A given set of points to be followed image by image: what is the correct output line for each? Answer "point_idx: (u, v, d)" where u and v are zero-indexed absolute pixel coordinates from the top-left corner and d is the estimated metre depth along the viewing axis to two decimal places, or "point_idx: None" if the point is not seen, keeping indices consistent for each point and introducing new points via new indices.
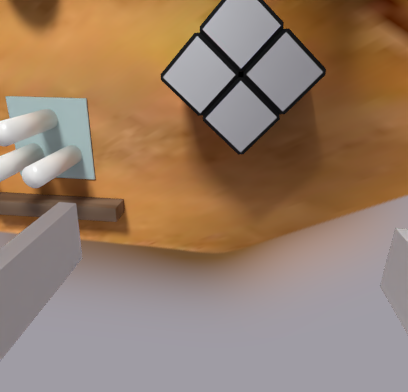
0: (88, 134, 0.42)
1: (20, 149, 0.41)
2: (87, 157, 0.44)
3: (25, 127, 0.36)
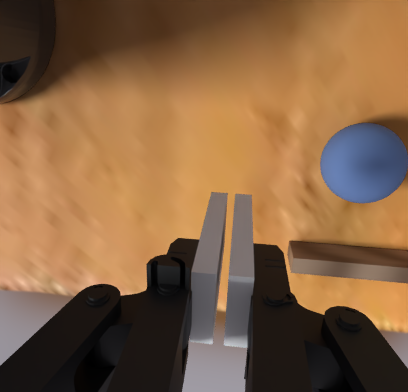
0: None
1: None
2: None
3: None
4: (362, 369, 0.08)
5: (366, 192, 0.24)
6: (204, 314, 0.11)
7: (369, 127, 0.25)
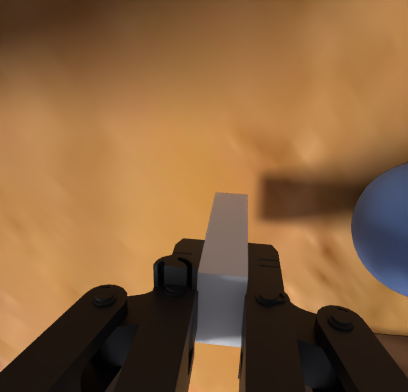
0: None
1: None
2: None
3: None
4: (354, 368, 0.08)
5: None
6: (210, 315, 0.11)
7: None
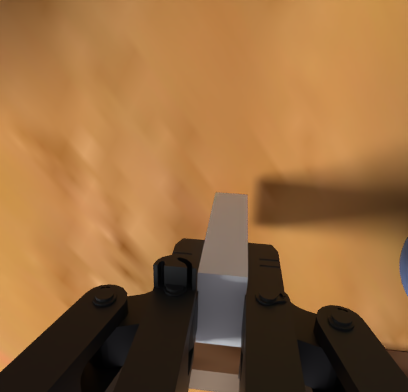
0: None
1: None
2: None
3: None
4: (354, 368, 0.08)
5: None
6: (210, 315, 0.11)
7: None
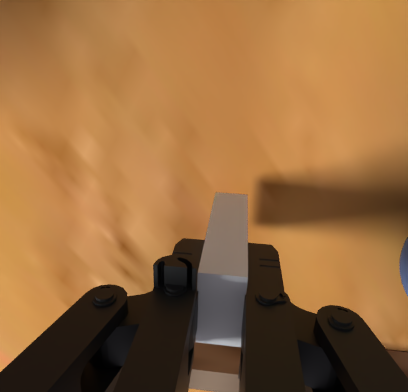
0: None
1: None
2: None
3: None
4: (354, 368, 0.08)
5: None
6: (210, 315, 0.11)
7: None
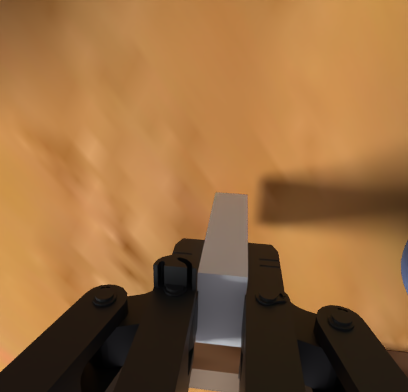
0: None
1: None
2: None
3: None
4: (354, 368, 0.08)
5: None
6: (210, 315, 0.11)
7: None
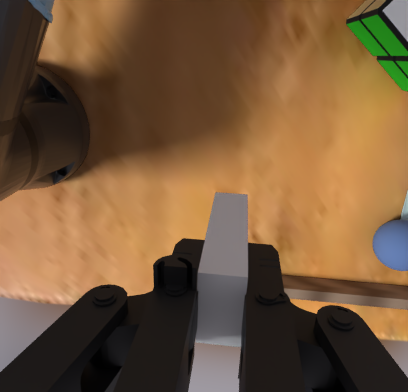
0: None
1: None
2: None
3: None
4: (354, 368, 0.08)
5: None
6: (209, 315, 0.11)
7: (401, 222, 0.40)
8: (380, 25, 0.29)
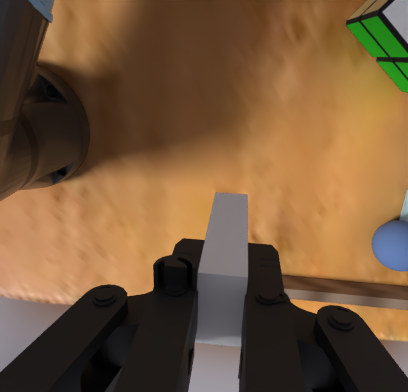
0: None
1: None
2: None
3: None
4: (354, 368, 0.08)
5: None
6: (210, 315, 0.11)
7: (400, 222, 0.40)
8: (380, 26, 0.29)
